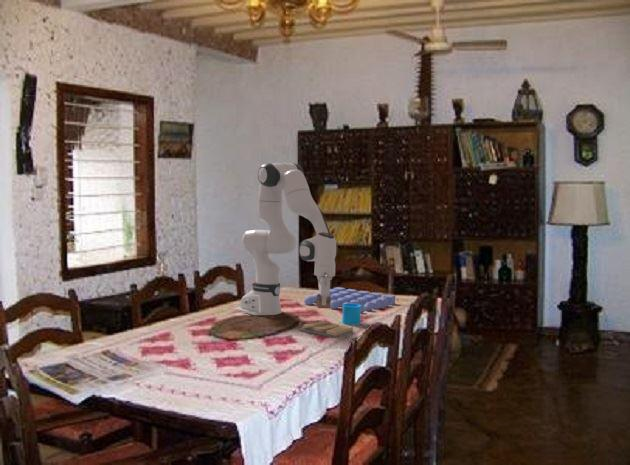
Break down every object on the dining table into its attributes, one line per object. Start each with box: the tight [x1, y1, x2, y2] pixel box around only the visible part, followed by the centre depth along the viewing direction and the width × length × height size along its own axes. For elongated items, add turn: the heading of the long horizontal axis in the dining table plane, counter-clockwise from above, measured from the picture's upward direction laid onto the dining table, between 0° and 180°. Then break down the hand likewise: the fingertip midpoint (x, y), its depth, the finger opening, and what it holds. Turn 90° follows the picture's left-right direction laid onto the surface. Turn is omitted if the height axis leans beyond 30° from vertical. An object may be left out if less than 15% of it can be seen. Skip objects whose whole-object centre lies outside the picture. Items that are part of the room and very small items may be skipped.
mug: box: [341, 303, 362, 326], centre depth 314 cm, size 12×8×8 cm
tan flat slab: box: [302, 319, 341, 333], centre depth 296 cm, size 11×12×1 cm
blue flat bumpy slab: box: [303, 286, 396, 314], centre depth 354 cm, size 35×34×5 cm
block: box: [315, 293, 331, 309], centre depth 294 cm, size 5×5×5 cm
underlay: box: [299, 324, 354, 339], centre depth 294 cm, size 18×14×2 cm
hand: (323, 303), depth 294 cm, fingers closed on block, 5 cm apart
